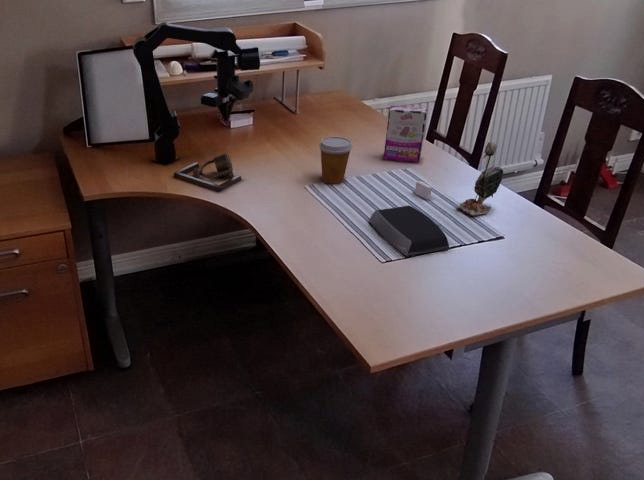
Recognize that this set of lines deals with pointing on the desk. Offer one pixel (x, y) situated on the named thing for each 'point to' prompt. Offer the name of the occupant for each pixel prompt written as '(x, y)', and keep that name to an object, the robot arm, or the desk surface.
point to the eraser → (423, 190)
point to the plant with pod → (484, 185)
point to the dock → (182, 175)
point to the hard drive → (409, 230)
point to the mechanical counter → (217, 167)
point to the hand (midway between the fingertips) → (226, 120)
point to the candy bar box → (405, 133)
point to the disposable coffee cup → (334, 158)
